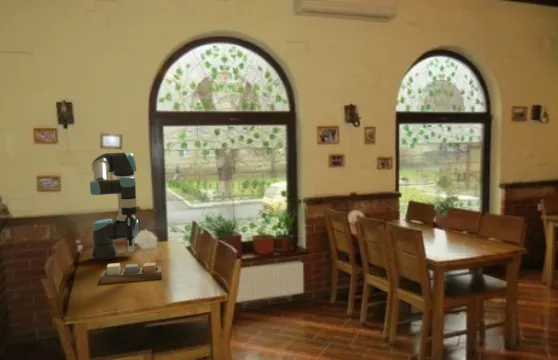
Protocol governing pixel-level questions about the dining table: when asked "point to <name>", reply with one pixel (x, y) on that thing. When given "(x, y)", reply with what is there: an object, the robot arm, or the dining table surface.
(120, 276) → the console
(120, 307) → the dining table surface
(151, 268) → the terracotta key
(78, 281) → the dining table surface
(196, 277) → the dining table surface
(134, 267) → the slate key
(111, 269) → the ivory key
